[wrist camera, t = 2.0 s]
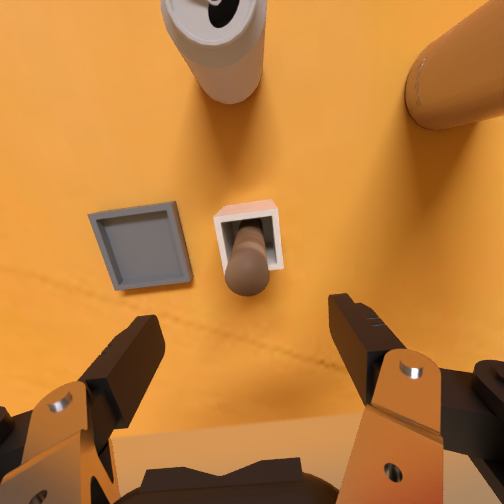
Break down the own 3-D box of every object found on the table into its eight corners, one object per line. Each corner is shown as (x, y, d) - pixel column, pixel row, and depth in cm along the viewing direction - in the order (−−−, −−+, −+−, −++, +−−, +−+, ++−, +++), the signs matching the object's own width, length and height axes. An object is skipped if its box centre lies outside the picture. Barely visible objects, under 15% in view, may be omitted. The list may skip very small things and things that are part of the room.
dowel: (260, 213, 30) (266, 253, 15) (263, 235, 31) (271, 293, 16) (238, 216, 30) (221, 258, 15) (241, 238, 31) (228, 298, 16)
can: (241, 120, 28) (230, 81, 16) (184, 81, 26) (130, 10, 15) (275, 54, 25) (292, -43, 14) (216, 9, 24) (181, -137, 13)
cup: (271, 198, 30) (277, 208, 22) (276, 243, 32) (283, 268, 24) (224, 205, 31) (213, 217, 22) (232, 249, 33) (224, 275, 24)
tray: (175, 201, 31) (170, 202, 29) (193, 276, 34) (190, 281, 32) (96, 212, 31) (87, 214, 30) (122, 285, 35) (115, 290, 33)
